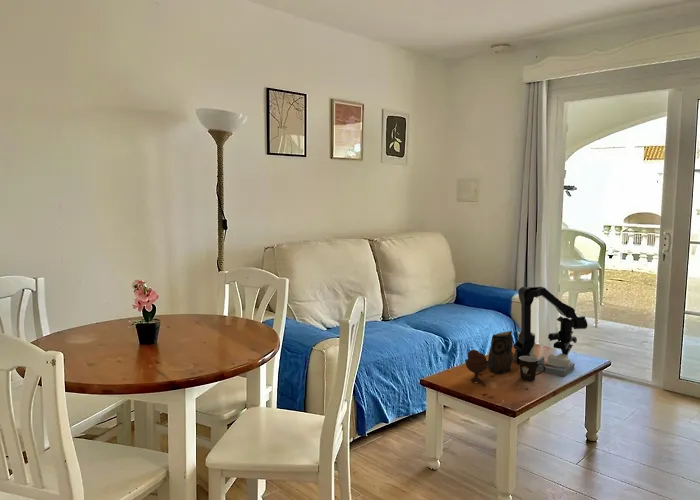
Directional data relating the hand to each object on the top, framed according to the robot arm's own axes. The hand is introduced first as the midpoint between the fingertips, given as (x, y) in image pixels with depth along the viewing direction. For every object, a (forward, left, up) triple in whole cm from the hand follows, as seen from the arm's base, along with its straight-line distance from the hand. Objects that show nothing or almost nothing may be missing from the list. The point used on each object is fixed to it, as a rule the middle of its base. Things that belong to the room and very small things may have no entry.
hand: (564, 358), depth 270 cm
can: (-16, +12, -2) cm, 20 cm away
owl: (-40, -12, -2) cm, 42 cm away
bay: (-12, -12, -1) cm, 17 cm away
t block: (-5, -5, -1) cm, 7 cm away
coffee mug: (-30, -27, -2) cm, 40 cm away
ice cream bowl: (-56, -27, -2) cm, 62 cm away
